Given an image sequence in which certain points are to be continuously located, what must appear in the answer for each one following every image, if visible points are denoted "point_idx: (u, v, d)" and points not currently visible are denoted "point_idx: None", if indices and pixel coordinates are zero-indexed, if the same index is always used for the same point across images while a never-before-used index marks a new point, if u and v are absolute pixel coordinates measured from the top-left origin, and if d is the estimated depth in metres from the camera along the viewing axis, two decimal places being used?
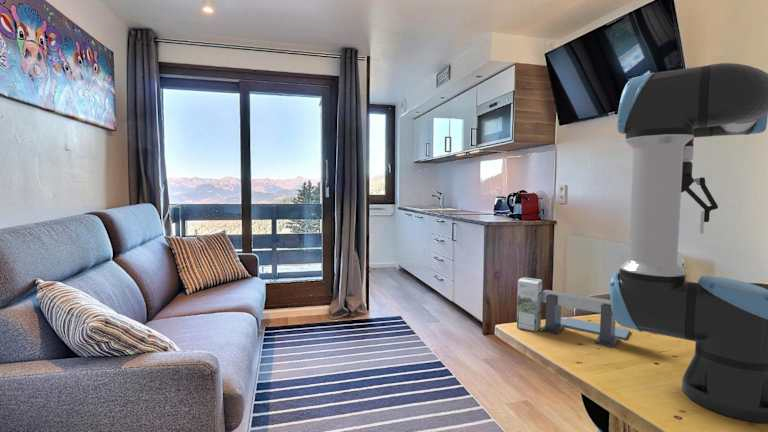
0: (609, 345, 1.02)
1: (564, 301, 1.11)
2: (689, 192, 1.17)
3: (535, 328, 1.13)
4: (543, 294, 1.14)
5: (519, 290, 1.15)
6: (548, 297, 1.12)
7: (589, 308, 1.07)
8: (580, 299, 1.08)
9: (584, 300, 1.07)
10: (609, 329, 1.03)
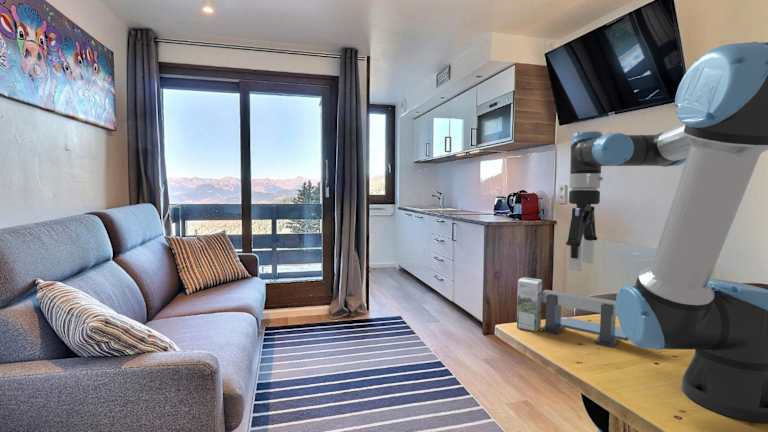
0: (609, 345, 1.02)
1: (564, 301, 1.11)
2: None
3: (535, 328, 1.13)
4: (543, 294, 1.14)
5: (519, 290, 1.15)
6: (548, 297, 1.12)
7: (589, 308, 1.07)
8: (580, 299, 1.08)
9: (584, 300, 1.07)
10: (609, 329, 1.03)
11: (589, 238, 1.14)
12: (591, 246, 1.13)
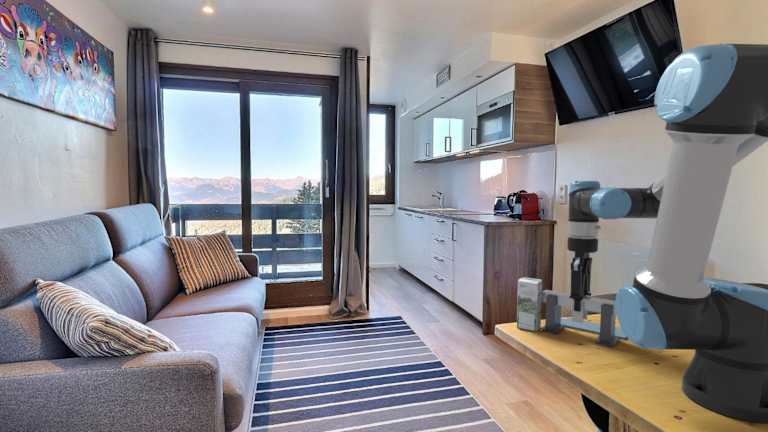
0: (609, 345, 1.02)
1: (564, 301, 1.11)
2: None
3: (535, 328, 1.13)
4: (543, 294, 1.14)
5: (519, 290, 1.15)
6: (548, 297, 1.12)
7: (589, 308, 1.07)
8: None
9: (584, 300, 1.07)
10: (609, 329, 1.03)
11: (583, 293, 1.11)
12: None
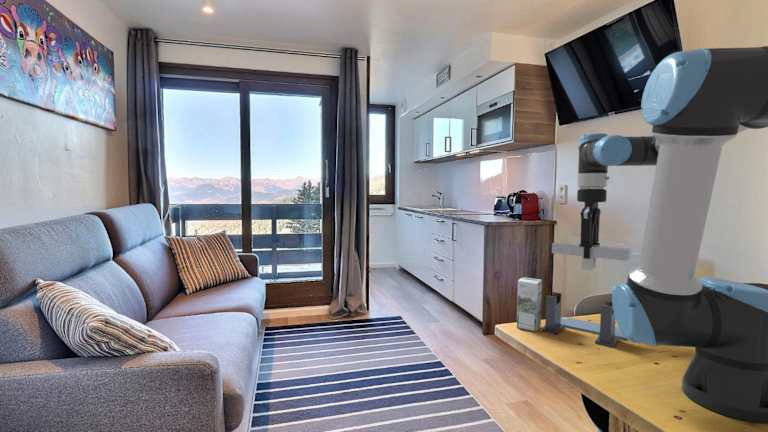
0: (609, 345, 1.02)
1: (573, 250, 1.16)
2: None
3: (535, 328, 1.13)
4: (553, 245, 1.20)
5: (519, 290, 1.15)
6: (548, 297, 1.12)
7: (598, 255, 1.12)
8: None
9: (593, 248, 1.13)
10: (609, 329, 1.03)
11: (592, 243, 1.17)
12: None
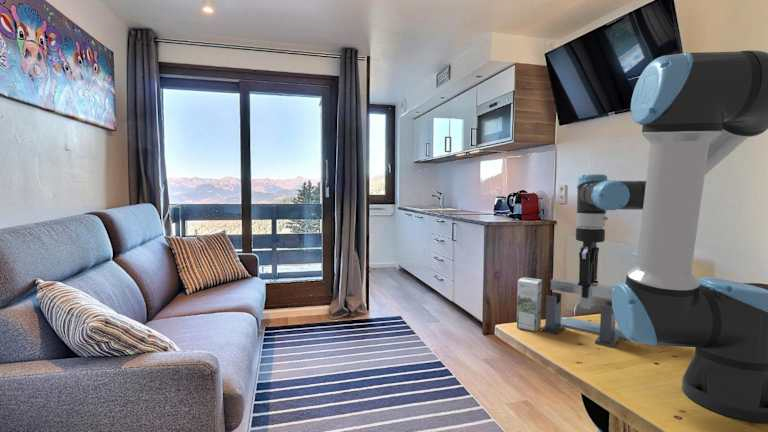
0: (609, 345, 1.02)
1: (572, 288, 1.17)
2: None
3: (535, 328, 1.13)
4: (552, 282, 1.21)
5: (519, 290, 1.15)
6: (548, 297, 1.12)
7: (596, 294, 1.13)
8: None
9: None
10: (609, 329, 1.03)
11: (590, 281, 1.18)
12: None
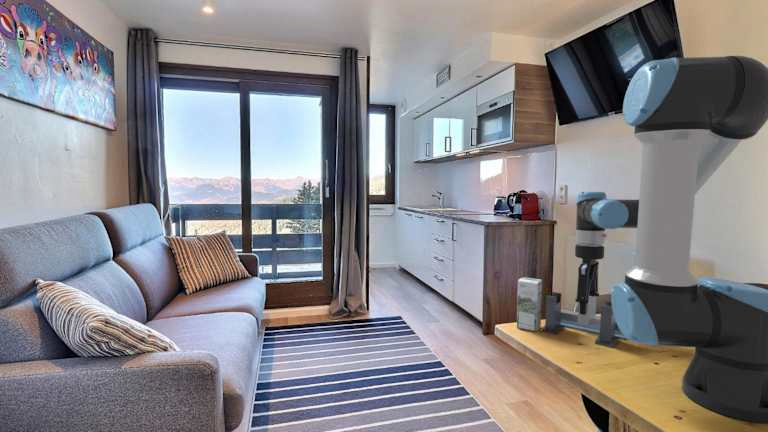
0: (609, 345, 1.02)
1: (571, 319, 1.18)
2: None
3: (535, 328, 1.13)
4: None
5: (519, 290, 1.15)
6: (548, 297, 1.12)
7: (595, 326, 1.14)
8: None
9: (590, 319, 1.14)
10: (609, 329, 1.03)
11: (591, 294, 1.20)
12: (593, 302, 1.19)
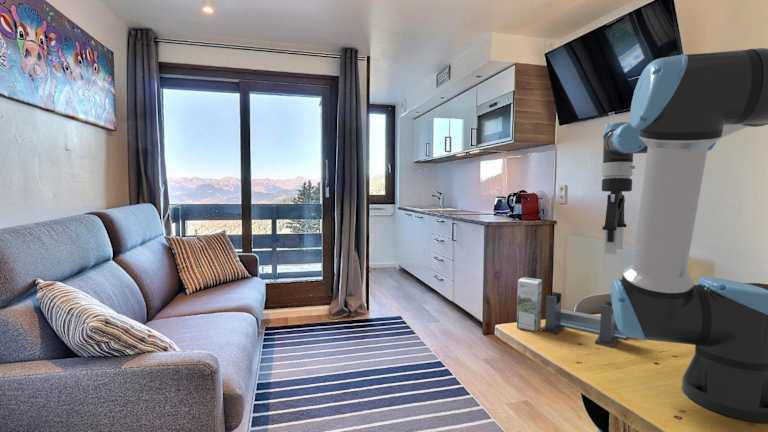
0: (609, 345, 1.02)
1: (571, 319, 1.18)
2: None
3: (535, 328, 1.13)
4: None
5: (519, 290, 1.15)
6: (548, 297, 1.12)
7: (595, 326, 1.14)
8: (586, 318, 1.15)
9: (590, 319, 1.14)
10: (609, 329, 1.03)
11: (619, 225, 1.20)
12: (621, 233, 1.19)
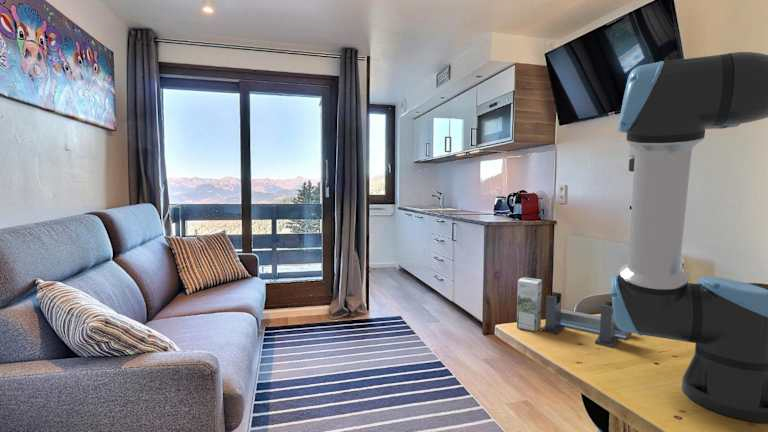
0: (609, 345, 1.02)
1: (571, 319, 1.18)
2: None
3: (535, 328, 1.13)
4: None
5: (519, 290, 1.15)
6: (548, 297, 1.12)
7: (595, 326, 1.14)
8: (586, 318, 1.15)
9: (590, 319, 1.14)
10: (609, 329, 1.03)
11: None
12: None
